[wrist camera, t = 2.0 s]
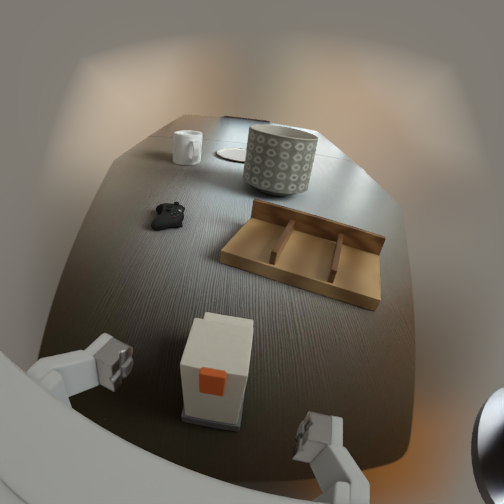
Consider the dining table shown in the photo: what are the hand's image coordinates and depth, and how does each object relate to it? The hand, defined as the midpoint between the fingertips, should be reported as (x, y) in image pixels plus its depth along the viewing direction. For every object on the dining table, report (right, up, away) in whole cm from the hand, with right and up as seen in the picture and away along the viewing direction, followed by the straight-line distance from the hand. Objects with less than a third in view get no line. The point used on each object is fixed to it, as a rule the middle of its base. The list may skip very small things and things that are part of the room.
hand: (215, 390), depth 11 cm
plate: (-2, +44, +103) cm, 112 cm away
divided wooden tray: (+12, +4, +43) cm, 45 cm away
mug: (-22, +38, +89) cm, 99 cm away
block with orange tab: (-2, -9, +20) cm, 22 cm away
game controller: (-16, +12, +50) cm, 54 cm away
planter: (+8, +24, +74) cm, 78 cm away
